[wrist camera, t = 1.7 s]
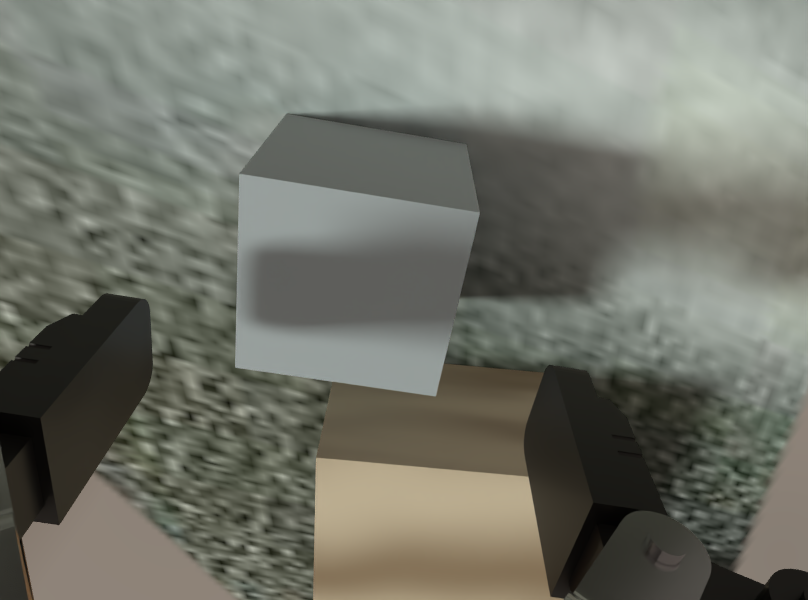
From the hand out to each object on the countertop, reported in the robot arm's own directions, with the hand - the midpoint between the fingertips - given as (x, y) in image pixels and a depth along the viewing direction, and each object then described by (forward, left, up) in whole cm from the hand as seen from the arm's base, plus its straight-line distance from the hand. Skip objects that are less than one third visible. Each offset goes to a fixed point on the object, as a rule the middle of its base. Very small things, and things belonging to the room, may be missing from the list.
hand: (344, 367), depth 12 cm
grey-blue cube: (0, 0, -7) cm, 7 cm away
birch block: (+9, +4, -7) cm, 12 cm away
